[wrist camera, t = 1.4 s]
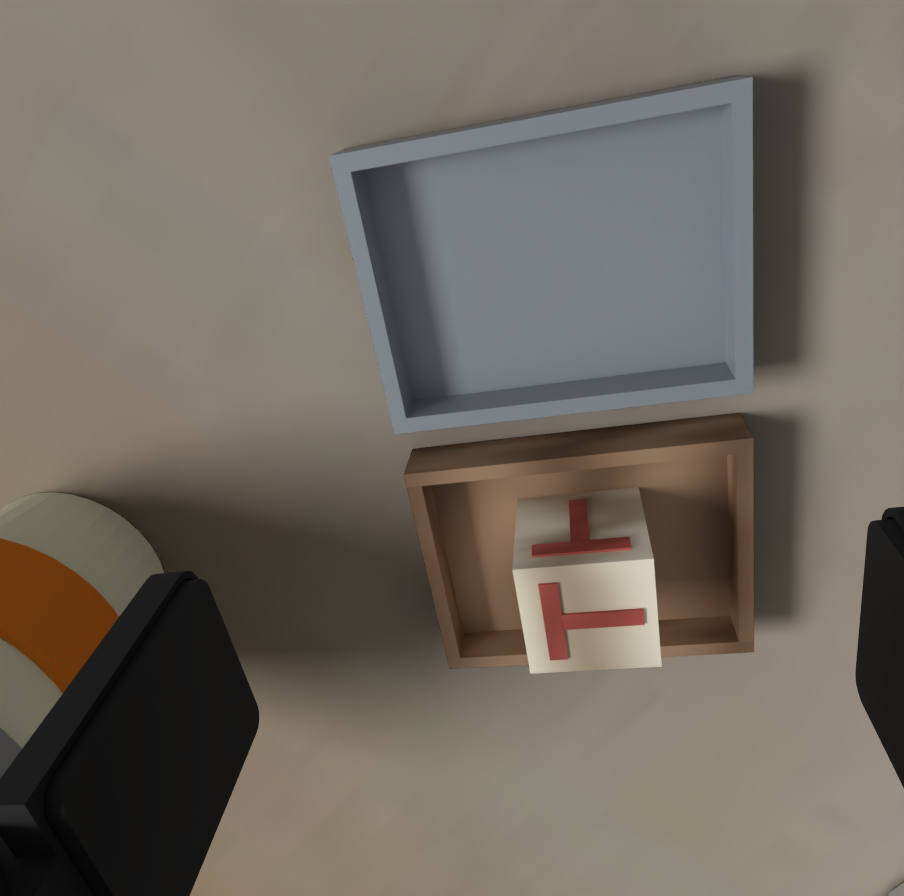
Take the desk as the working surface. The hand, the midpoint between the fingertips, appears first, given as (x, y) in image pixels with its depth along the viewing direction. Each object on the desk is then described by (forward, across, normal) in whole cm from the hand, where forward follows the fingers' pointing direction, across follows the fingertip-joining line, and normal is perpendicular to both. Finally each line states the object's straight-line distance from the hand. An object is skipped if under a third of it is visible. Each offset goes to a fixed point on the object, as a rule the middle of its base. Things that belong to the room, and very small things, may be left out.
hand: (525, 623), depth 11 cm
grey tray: (+19, -1, 0) cm, 19 cm away
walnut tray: (+19, -1, +12) cm, 22 cm away
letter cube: (+19, -1, +12) cm, 22 cm away
